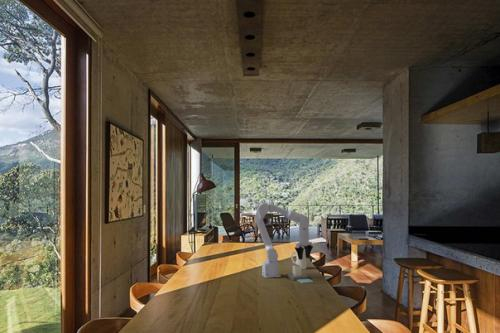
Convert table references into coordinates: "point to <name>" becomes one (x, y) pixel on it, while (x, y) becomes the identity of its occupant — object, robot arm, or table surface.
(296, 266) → the plug
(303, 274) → the grey square frame
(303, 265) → the mug
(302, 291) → the table surface
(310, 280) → the mat
